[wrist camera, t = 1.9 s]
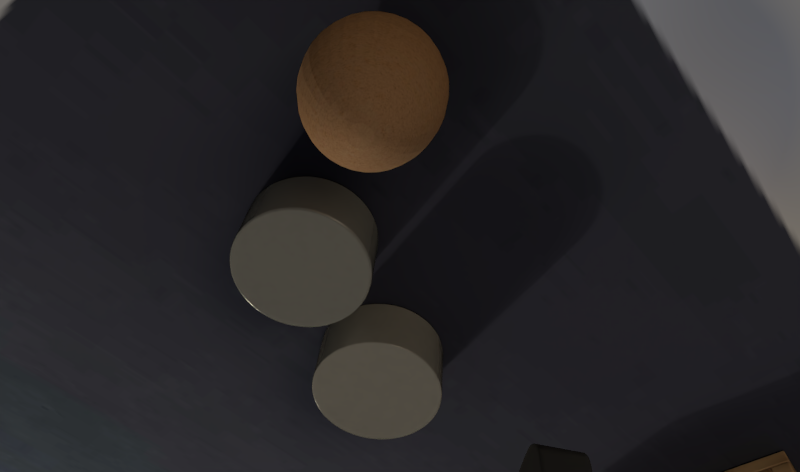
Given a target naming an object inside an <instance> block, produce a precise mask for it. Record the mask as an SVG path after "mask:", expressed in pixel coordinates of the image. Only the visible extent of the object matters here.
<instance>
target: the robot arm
mask: <svg viewBox="0 0 800 472" xmlns="http://www.w3.org/2000/svg"><path fill="white" fill-rule="evenodd" d="M519 472H592V468H591V463H590V460H589V458H588V456H587V455H586V454H585V453H581V452H576V451H571V450H565V449H560V448H555V447H549V446H544V445H539V444H532V445H531V446H530V447H529V449H528V451H527V453H526V455H525V458H524V460H523V463H522V465H521V468H520V470H519Z"/></svg>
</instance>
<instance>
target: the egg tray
mask: <svg viewBox="0 0 800 472" xmlns="http://www.w3.org/2000/svg"><path fill="white" fill-rule="evenodd" d="M724 472H796V470H795V469H794V467H793V465H792V464H791V462H790V460H789V458H788V457H787V455H786V453H785V452H784V451H781V452H778V453H775V454H772V455H769V456H766V457H764V458H761V459H758V460H755V461H752V462H750V463H747V464H744V465H741V466H738V467H735V468H733V469H730V470H727V471H724Z"/></svg>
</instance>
